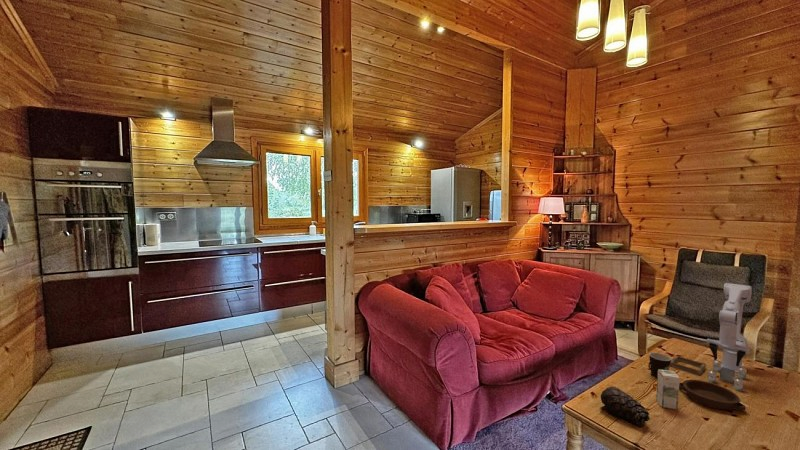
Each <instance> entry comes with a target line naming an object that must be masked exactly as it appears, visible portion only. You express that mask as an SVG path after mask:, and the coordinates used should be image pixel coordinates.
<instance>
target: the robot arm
mask: <svg viewBox="0 0 800 450" xmlns="http://www.w3.org/2000/svg"><path fill="white" fill-rule="evenodd" d="M723 284H724V285H723V294H724V297H725V299H726V301H724V304H723V306H722V309H720V310H719V313H718V314H719V315H718V318H719V319H718V320H719V325H720V326H719V339H711V338H707V339H706V344H708V347H709V349H710V351H711V353H712V357H713V360H717V359H718V347H719V349H721V350H722V356H721V357H722V360H721V368H722V367H725V368H728V369H732V370H735V373H738V367H743V368H745V366H743V357H744V356H745V355H746V354H747V355H749V354H750V349H751V348H748V340H747V338H746V337H745V336H743V334H741V327H742V320H743V311H744V310H743V308H744V306H745V303H750V302H751V300H752V292H753V287H752V286H751V285H746V284H745V285H743V284H736V283H731V282H730V283H729V282H725V283H723Z"/></svg>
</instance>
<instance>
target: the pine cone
mask: <svg viewBox="0 0 800 450" xmlns="http://www.w3.org/2000/svg"><path fill="white" fill-rule="evenodd" d="M600 400H601V403H602V404H603V407H602V409H603V410H604V412H607V413H608V414H609V415H611V416H613V417H615V418H617V419H618V420H621V421H622V422H625V423H627V424H629V425H631V426H633V427H636V428H638V429H642V430H646V428H645V426H646V425H645V424H646V422H648V421H649V420H650V416H649V414H650V412H649V411H648V410H647V409H646V408H645V407H644V406H643V405H642V404H641V402H639V401H638V400H636V399H635V398H634V397H633V396H631V395H630V394H628V393H626V392H625V391H623V390H621V389H620V388H619V387H616V386H609V387H606V389H604V390H602V391H601V393H600Z"/></svg>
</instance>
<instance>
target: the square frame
mask: <svg viewBox="0 0 800 450" xmlns="http://www.w3.org/2000/svg"><path fill="white" fill-rule="evenodd" d="M678 362H680V363H678ZM681 363H684V364H687V365H691V366H693V367H697V368H698V369H696V368H693V367H690V366H686V365H684V364H681ZM706 366H707V364H706V363H704V362H700V361H697V360H694V359H693V360H692V359H690V358H686V357H683V356H679V355H675V356H674V357H673V358H671V362H670V367H671V368H673V369H676V370H680V371H683V372H686V373H689V374H692V375H695V376H701V375H702V373H703V372H704V371H705V370H706ZM670 367H669V368H670Z"/></svg>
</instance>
